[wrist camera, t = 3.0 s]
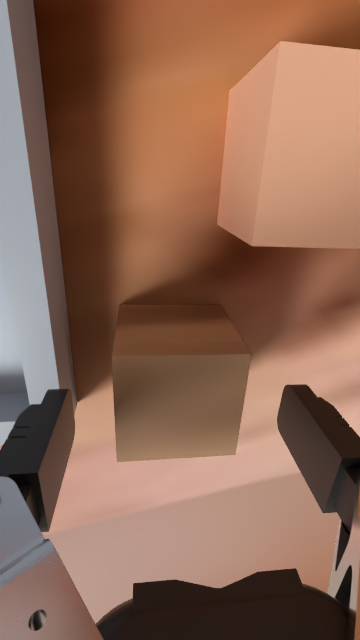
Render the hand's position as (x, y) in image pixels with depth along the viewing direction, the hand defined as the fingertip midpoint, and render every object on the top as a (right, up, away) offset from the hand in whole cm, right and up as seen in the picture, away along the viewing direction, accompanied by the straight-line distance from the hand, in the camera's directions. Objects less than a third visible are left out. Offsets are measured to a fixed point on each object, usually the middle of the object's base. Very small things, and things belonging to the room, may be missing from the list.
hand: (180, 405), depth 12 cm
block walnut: (-1, +2, +3) cm, 4 cm away
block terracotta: (+4, +9, 0) cm, 10 cm away
